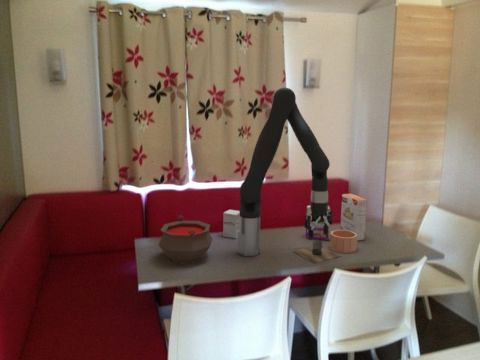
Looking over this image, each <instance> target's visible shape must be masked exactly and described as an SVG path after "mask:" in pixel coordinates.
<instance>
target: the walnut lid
mask: <svg viewBox="0 0 480 360" xmlns="http://www.w3.org/2000/svg"><path fill="white" fill-rule="evenodd" d="M322 244H323V242H322V240H313V241H312V246H311V247H310V246H309V247H306V248H302V249H299V250H294V251H292V253H294V254H296V255H298V256H299V257H302V258H304V259H306V260H307V261H309V262H311V263H314V264H319V263H322V262H326V261H331V260H334V259H338V258H342V255H339V254H338V253H337V252H333V251H332V250H328V249H327V248H324V247H323V245H322Z"/></svg>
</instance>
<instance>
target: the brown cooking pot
mask: <svg viewBox="0 0 480 360" xmlns="http://www.w3.org/2000/svg"><path fill="white" fill-rule="evenodd" d="M210 227H211V225H210V224H209V223H206V222H202V221H200V220H184V217H183V216H182V215H179V216H178V217H177V221H173V222H169V223H165V224H163V226H162V227H161V229H160V231H161V233H162V235H161V238H160V240H159V243H158V247H159V248H160V249H161V250H162V251H163V252H164V254H165V256H166V257H168V258H169V260H170V259H171V261H172V260H173V262H174V261H175V262H174V263H176V262H177V263H176V264H192V262H193V263H196V262H199V261H201V260H202V259H203V257H204V256H205V255H206V254H207V251H208V250H209V249H210V247H211V246H212V243H213V242H212V241H213V237H212V235H211V233H210Z"/></svg>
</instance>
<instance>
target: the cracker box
mask: <svg viewBox="0 0 480 360" xmlns="http://www.w3.org/2000/svg"><path fill="white" fill-rule="evenodd" d="M367 207H368V199H366V198H363V197H361V196H359V195H356V194H353V193H343V194H342V195H341V209H340V210H341V212H340V229H339V230H348V231H352V232H355V233H356V234H357V235H358V236H357V242H358V241H359V242H360V241H365V238H366V224H367V223H366V222H367V221H366V220H367V209H368V208H367Z"/></svg>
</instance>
